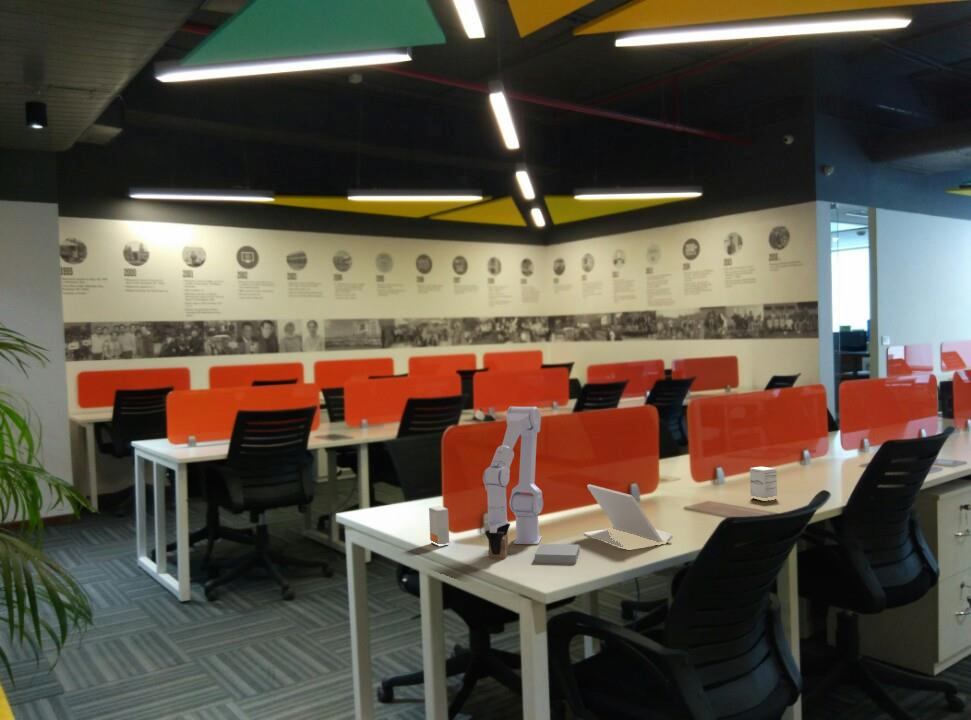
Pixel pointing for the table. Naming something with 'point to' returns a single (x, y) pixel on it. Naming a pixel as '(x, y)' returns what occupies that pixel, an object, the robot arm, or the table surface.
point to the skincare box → (439, 525)
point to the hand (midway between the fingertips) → (498, 550)
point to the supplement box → (763, 482)
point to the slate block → (557, 553)
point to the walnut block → (503, 551)
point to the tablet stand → (624, 516)
